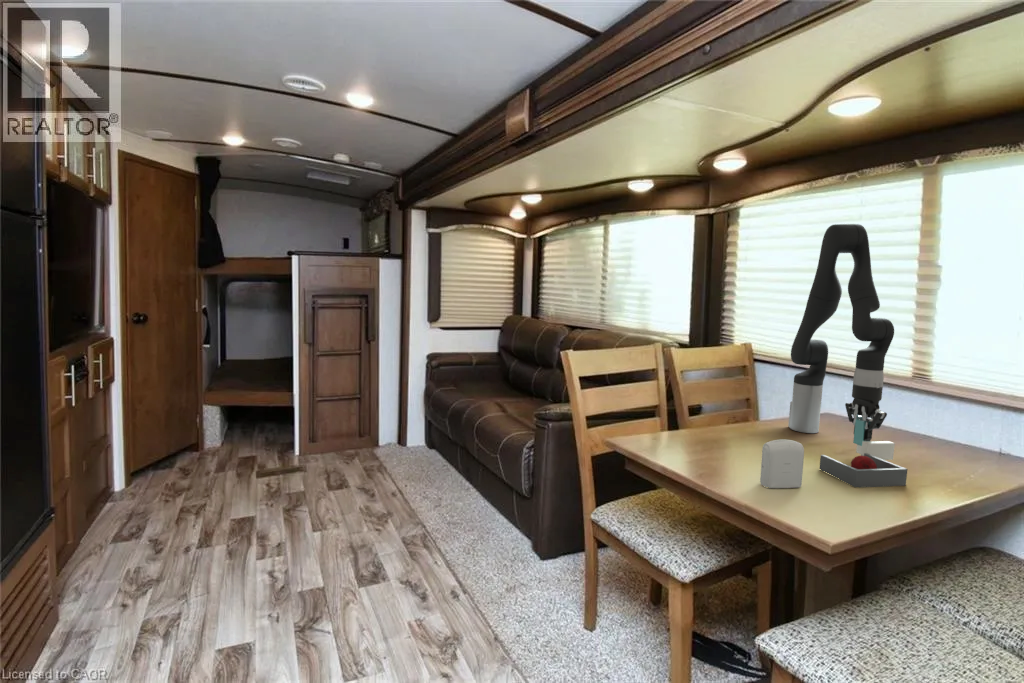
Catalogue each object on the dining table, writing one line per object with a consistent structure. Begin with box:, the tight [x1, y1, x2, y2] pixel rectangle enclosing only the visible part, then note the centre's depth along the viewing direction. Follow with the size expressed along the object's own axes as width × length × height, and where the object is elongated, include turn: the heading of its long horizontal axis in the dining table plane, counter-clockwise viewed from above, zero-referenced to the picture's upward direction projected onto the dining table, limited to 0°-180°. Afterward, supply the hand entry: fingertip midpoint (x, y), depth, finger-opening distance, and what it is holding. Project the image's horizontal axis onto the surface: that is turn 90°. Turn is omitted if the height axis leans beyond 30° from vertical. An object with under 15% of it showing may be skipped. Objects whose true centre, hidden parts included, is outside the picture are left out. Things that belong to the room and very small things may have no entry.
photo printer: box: [759, 438, 805, 489], centre depth 136 cm, size 10×4×12 cm, turn 96°
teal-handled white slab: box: [852, 419, 896, 461], centre depth 158 cm, size 8×9×10 cm
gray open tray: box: [819, 453, 908, 488], centre depth 144 cm, size 13×15×4 cm
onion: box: [850, 455, 877, 469], centre depth 145 cm, size 6×6×8 cm
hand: (862, 438), depth 161 cm, fingers closed on teal-handled white slab, 2 cm apart
